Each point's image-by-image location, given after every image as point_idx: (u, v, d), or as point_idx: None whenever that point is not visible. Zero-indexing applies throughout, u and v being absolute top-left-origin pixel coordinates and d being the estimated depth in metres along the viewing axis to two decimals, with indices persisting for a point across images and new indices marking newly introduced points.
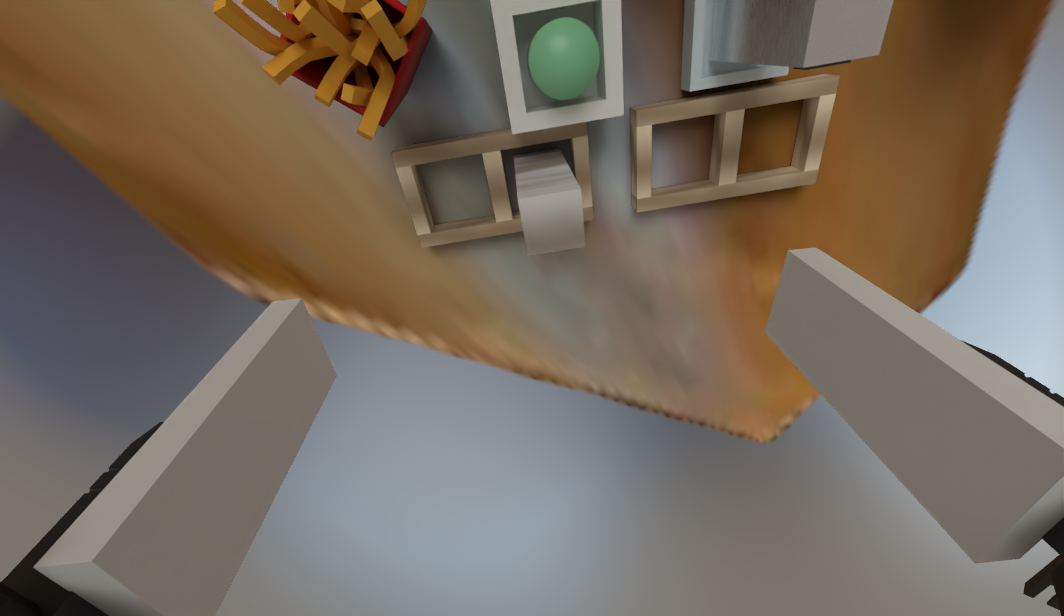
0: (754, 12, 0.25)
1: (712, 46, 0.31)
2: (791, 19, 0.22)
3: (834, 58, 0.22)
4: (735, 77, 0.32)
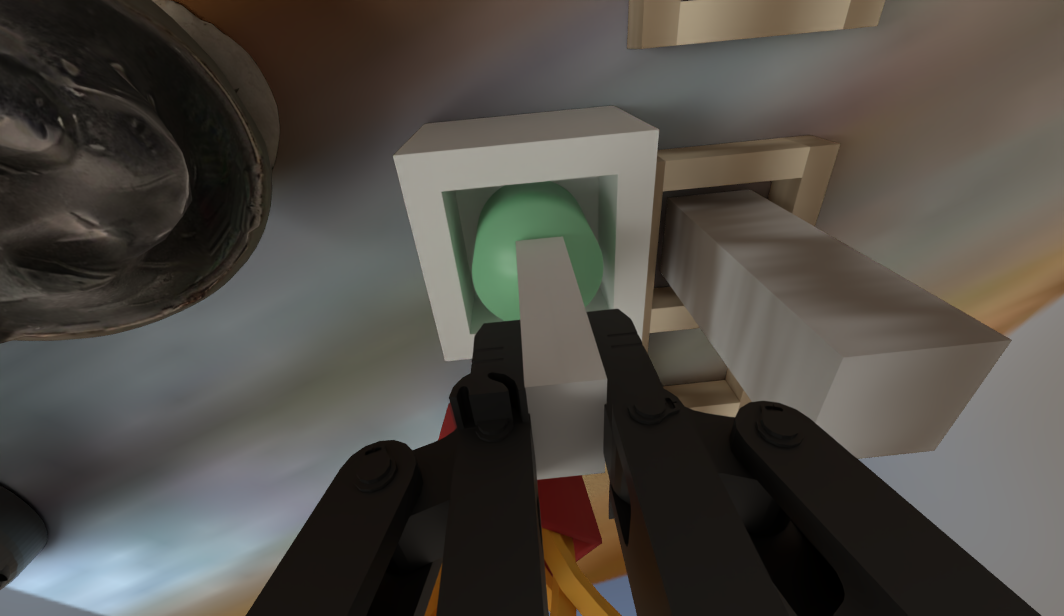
0: None
1: None
2: None
3: None
4: None
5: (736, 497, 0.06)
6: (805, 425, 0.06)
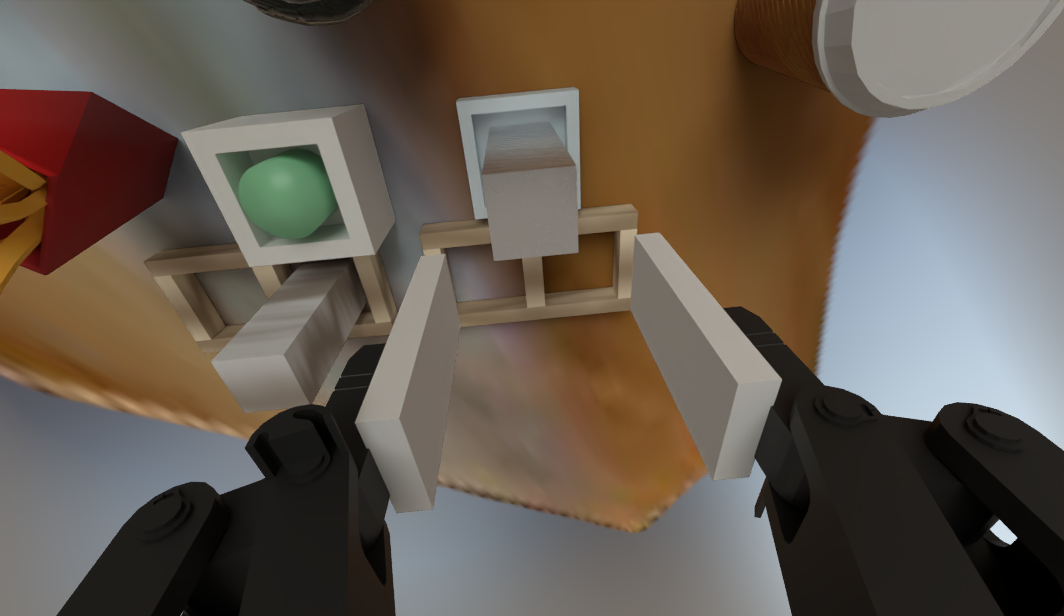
0: None
1: None
2: None
3: (527, 253, 0.19)
4: None
5: None
6: (1030, 435, 0.06)
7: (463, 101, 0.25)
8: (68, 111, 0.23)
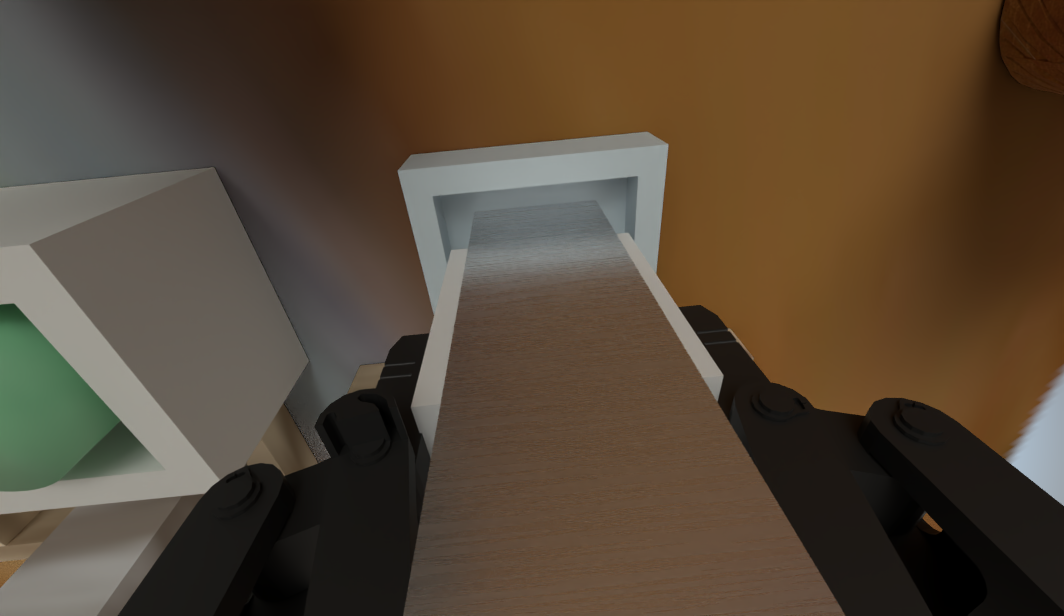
0: None
1: None
2: None
3: None
4: None
5: (860, 489, 0.06)
6: (951, 427, 0.06)
7: (414, 169, 0.12)
8: None
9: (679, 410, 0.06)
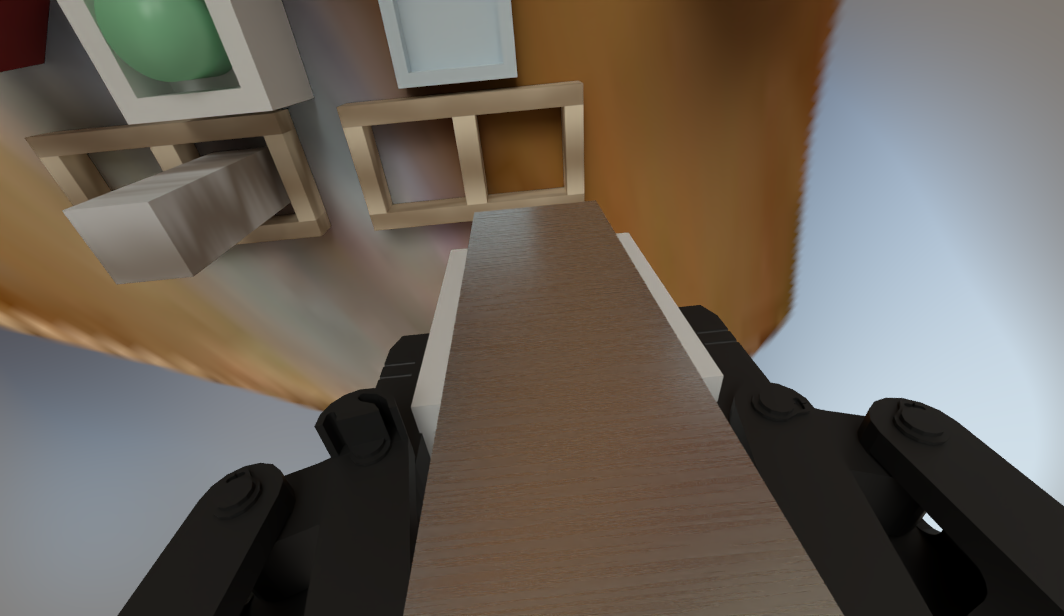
0: None
1: None
2: None
3: None
4: (451, 75, 0.26)
5: (860, 489, 0.06)
6: (951, 427, 0.06)
7: None
8: None
9: (679, 412, 0.06)
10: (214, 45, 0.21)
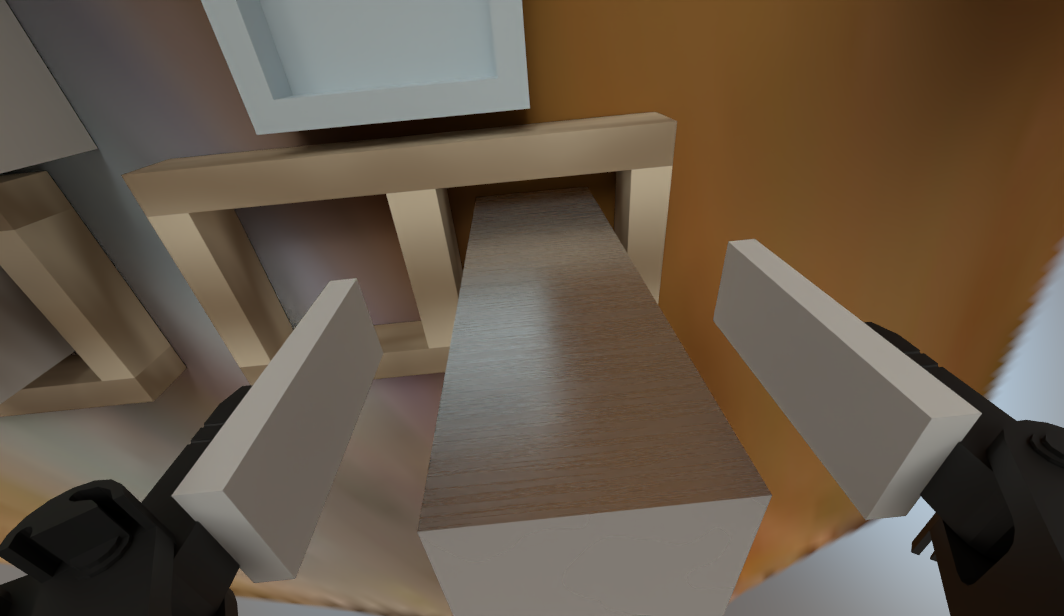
0: None
1: None
2: None
3: None
4: (377, 104, 0.11)
5: None
6: None
7: None
8: None
9: (646, 344, 0.07)
10: None
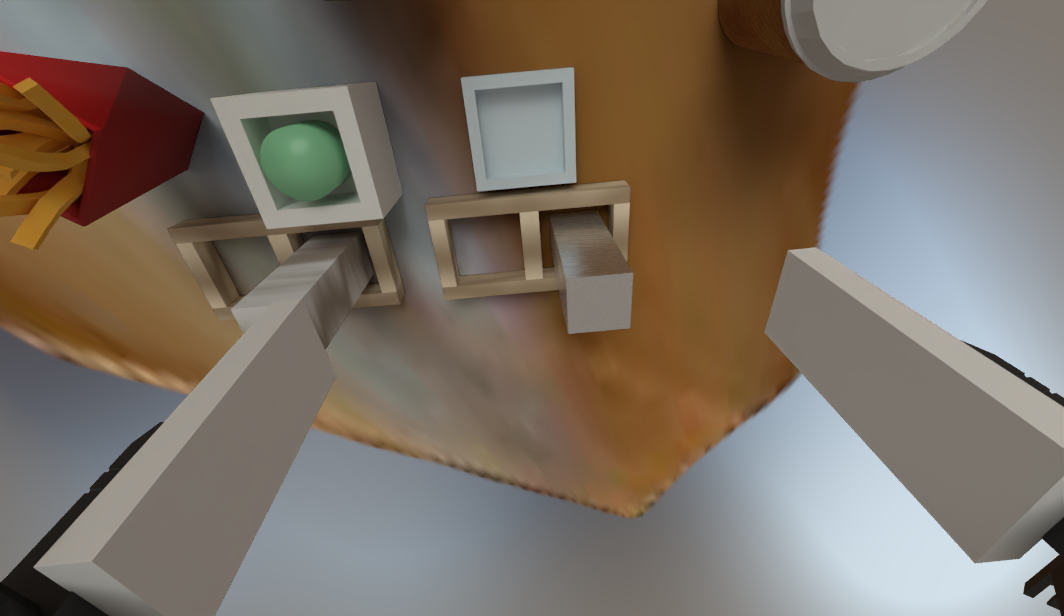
0: (557, 256, 0.30)
1: (551, 250, 0.36)
2: (563, 289, 0.27)
3: (593, 329, 0.26)
4: (522, 181, 0.31)
5: None
6: None
7: (467, 77, 0.27)
8: (108, 81, 0.25)
9: (613, 253, 0.27)
10: (343, 171, 0.27)
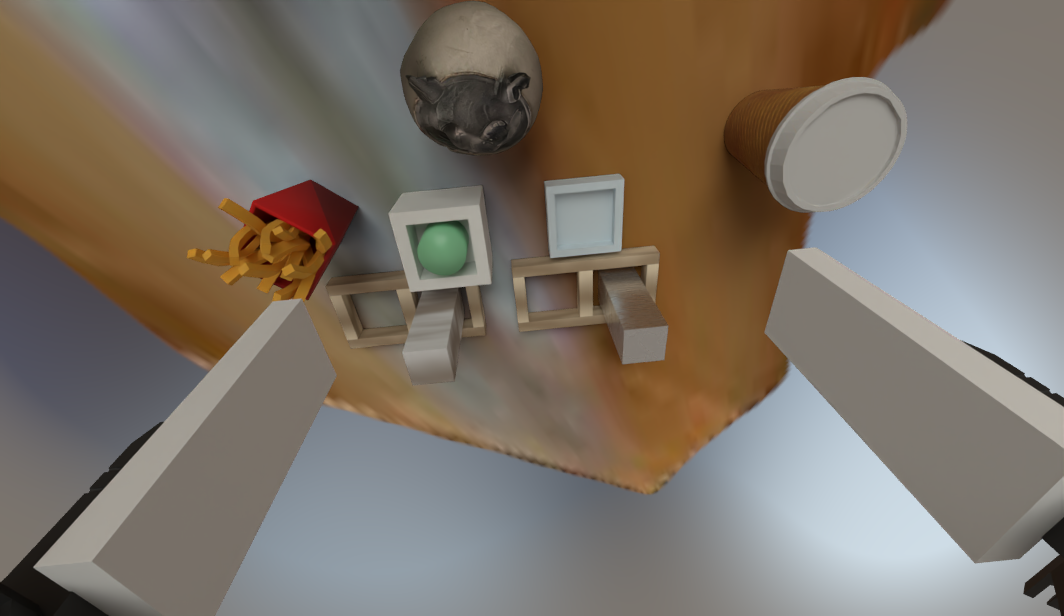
0: (609, 306, 0.42)
1: (598, 294, 0.48)
2: (618, 333, 0.39)
3: (639, 360, 0.39)
4: (582, 250, 0.43)
5: None
6: None
7: (550, 186, 0.39)
8: (312, 198, 0.37)
9: (652, 309, 0.39)
10: None
